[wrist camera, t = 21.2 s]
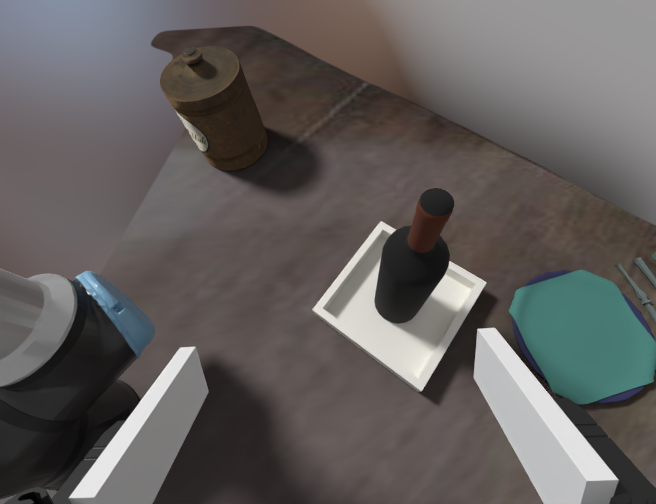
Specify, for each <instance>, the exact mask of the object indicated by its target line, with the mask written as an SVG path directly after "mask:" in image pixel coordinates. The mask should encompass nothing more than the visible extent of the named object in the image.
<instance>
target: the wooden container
mask: <svg viewBox="0 0 656 504" xmlns="http://www.w3.org/2000/svg"><path fill="white" fill-rule="evenodd" d="M160 85H161V88H162V90H163V92H164V94H165V95H166V97H167V99H168V100H169V102H170V103H171V105H172V106H173V107H174V109H175V111H176V112H177V114H178V116H179V117H180V119H181V120H182V122H183V124H184V125H185V127H186V128H187V130H188V132H189V133H190V135H191V136H192V138H193V140H194V141H195V143H196V144H197V146H198V147H199V149H200V150H201V151H202V153H203V154H204V156H205V157H206V159H207V160H208V162H209V163H210V164H211V165H213V166H214V167H216V168H218V169H221V170H228V171H233V170H239V169H243V168H245V167H248V166H250V165H251V164H253V163H254V162H256V161H257V160H258V159H259V158H260V157H261V156H262V155H263V153H264V152H265V150H266V147H267V142H268V138H267V134H266V131H265V128H264V126H263V123H262V120H261V117H260V114H259V112H258V109H257V107H256V104H255V102H254V99H253V97H252V94H251V92H250V89H249V87H248V84H247V82H246V79H245V76H244V73H243V70H242V67H241V65H240V63H239V61H238V59H237V57H236V55H235V54H234V53H232V52H231V51H229V50H227V49H225V48H221V47H201V48H194V47H187V48H186V49H185V50H184V52H183V53H182V54H181V55H179V56H178V57H176V58H175V59H173V60H172V61H171V62H170V63H169V64H168V65H167V66H166V67H165V69H164V71H163V72H162V75H161V78H160Z"/></svg>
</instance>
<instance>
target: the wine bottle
mask: <svg viewBox="0 0 656 504" xmlns="http://www.w3.org/2000/svg"><path fill="white" fill-rule="evenodd" d="M453 207H454V200H453V197H452V196H451V195H450V194H449V193H448V192H447V191H445V190H442V189H438V188H433V189H429V190H427V191H425V192H424V193H423V194H422V195H421V197H420V199H419V201H418V204H417V207H416V213H415V216H414V219H413V223H412V226H405V227H402V228H400V229H398V230H396V231H394V232H393V233H392V234H391V235H390V236H389V237H388V239H387V240H386V242H385V244H384V246H383V249H382V255H381V261H380V267H379V274H378V280H377V286H376V292H375V299H374V302H375V308H376V309H377V311H378V313H379V314H380V315H381V316H382V317H383V318H384V319H385V320H387V321H389V322H392V323H397V324H399V323H406V322H408V321H410V320H412V319H413V318H414V317H415V316H416V314H417V313H418V312H419V310H420V309H421V307H422V306H423V305H424V303H425V302H426V300H427V299H428V298H429V296H430V295H431V293H432V292H433V291H434V289H435V288H436V286H437V285H438V284H439V282H440V281H441V279H442V278H443V277H444V275H445V273H446V271H447V269H448V266H449V257H450V254H449V250H448V247H447V244H446V243H445V242H444V240H443V239H442V237H441V236H440V233H441V231H442V229H443V227H444V225H445V223H446V222H447V221H448V219H449V217H450V215H451V213H452V211H453Z"/></svg>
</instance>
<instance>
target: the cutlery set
mask: <svg viewBox="0 0 656 504" xmlns="http://www.w3.org/2000/svg"><path fill="white" fill-rule="evenodd" d="M651 256H652V257H653V258H654V259H655V260H656V253H653V254H651ZM633 261H634V262H635V263H636V264H637V265H638V266H639V268H640V269H641V270H642V271H643V272H644V274H645V275H646V276H647V277H648V279H649V280H650V281H651V282H652V284H653V285H654V286H655V288H656V278H655V277H654V276H653V274H652V273H651V271H650V270H649V269H648V267H647V266H646V264H645V263H644V261H643V260H642V259H641V257H640V258H637V259H635V260H633ZM615 266H617V267H618V268H619V269H620V270H621V272H622V273H623V274H624V275H625V276H626V278H627V279H628V281H629V282H630V284H631V285H632V286H633V288H634V289H635V291H636V295H637V297H638V298H639V299H641V301H642V304H643V305H645V306H646V308H647V310H648V311H649V313H650V315H651V317H652V318H653V320H654V321H655V322H656V311H655V310H654V309H653V307H652V306H651V305H650V302H652V301H650V300H648V299H647V294H645V293H644V292H643V291H641V290H640V289H639V288H638V287H637V285H636V284H635V283H634V281H633V280H632V279H631V278H630V277H629V276H628V274H627V273H626V271H625V270H624V269H623V267H622V266H621V263H620V264H617V265H615ZM514 295H515V296H514V298H513V301H512V303H511V307H510V309H509V312H510V313H511V315H512V316H513V331H514V334H515V337H516V339H517V342H518V345H519V348H520V350H521V352H522V353H523V355H524V356H525V357H526V359H527V360H528V362H529V363H530V365H531V366H532V367H533V369H534V370H535V371H536V372H537V373H538V374H540V375H541V376H542V377H543V378H544V379H545V380H546V381H548V383H549V385H550V388H551V390H552V392H553V393H556V394H558V395H560V396H562V397H564V398H569V399H570V400H571V401H573V402H574V403H576V404H588V403H592V402H597V403H610V402H618V401H625V400H627V399H628V398H630V397H632V396H633V395H635V394H637V393H639V392H640V391H642V390H643V389H644V387H645V386H646V384H649V383H652V382H654V376H655V375H656V374H655V370H656V342H655V340H654V339H653V336H652V332H651V330H650V329H649V327H648V325H647V323H646V321H645V319H644V318H643V316H642V314H641V312H640V311H639V310H638V309H637V308H636V307H635V306H634V305H633V304H632V302H631V301H630V300H629V299H628V298H627V297H626V296H625V295H624V294H623V293H621V292H620V290H619V289H618V287H617V286H616V285H615V284H614V283H612V282H611V281H609V280H607V279H605V278H602V277H600V276H597V275H595V274H592V273H590V272H587V271H585V270H578V271H574V272H573V271H566V270H562V271H555V272H548V273H544V274H542V275H540V276H538V277H536V278H534V279H532V280H530V281H529V282H528V283H527V284H526V285H525V287H522V288H520V289H518V290H516V292H515V294H514Z"/></svg>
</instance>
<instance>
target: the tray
mask: <svg viewBox="0 0 656 504" xmlns="http://www.w3.org/2000/svg"><path fill="white" fill-rule="evenodd" d="M394 231H396V230H395V229H394V228H392V227H390V226H388V225H387V224H385V223H383V222H380V223H379V224H378V225H377V227H376V228H375V229H374V231H373V232H372V233H371V235H370V236H369V237H368V238H367V240H366V241H365V242H364V244H363V245H362V246H361V247H360V249H359V250H358V251H357V253H356V254H355V255H354V256H353V258H352V259H351V260H350V262H349V263H348V264H347V266H346V267H345V268H344V269H343V271H342V272H341V273H340V275H339V276H338V277H337V278H336V280H335V281H334V282H333V284H332V285H331V286H330V288H329V289H328V290H327V291H326V293H325V294H324V295H323V297H322V298H321V299H320V300H319V302H318V303H317V304H316V306H315V307H314V308H313V309H312V310H313V312H314V314H315V315H316V316H317V317H319V318H320V319H321V320H323V321H324V322H325V323H327V324H328V325H329V326H331V327H332V328H333V329H335V330H336V331H337V332H339V333H340V334H341V335H343V336H344V337H345V338H347V339H348V340H349V341H351V342H352V343H353V344H355V345H356V346H357V347H359V348H360V349H361V350H363V351H364V352H365V353H367V354H368V355H369V356H371V357H372V358H373V359H375V360H376V361H377V362H379V363H380V364H381V365H383V366H384V367H385V368H387V369H388V370H389V371H391V372H392V373H393V374H395V375H396V376H397V377H399V378H400V379H401V380H403V381H404V382H405V383H407V384H408V385H409V386H411V387H412V388H413V389H415V390H416V391H417V392H422V390H423V388H424V387H425V385H426V383H427V382H428V380H429V378H430V377H431V375H432V373H433V372H434V370H435V368H436V367H437V365H438V363H439V362H440V360H441V358H442V356H443V355H444V353H445V351H446V350H447V348H448V346H449V345H450V343H451V341H452V340H453V338H454V336H455V335H456V333H457V331H458V330H459V328H460V326H461V325H462V323H463V321H464V320H465V318H466V316H467V315H468V313H469V311H470V310H471V308H472V306H473V305H474V303H475V301H476V299H477V298H478V296H479V294H480V293H481V291H482V289H483V288H484V286H485V284H486V283H487V282H485V281H483V280H481V279H480V278H478V277H476V276H475V275H473V274H471V273H469V272H468V271H466V270H464V269H462V268H461V267H459V266H457V265H456V264H454V263H452V262H450V261H449V266H448V269H447V271H446V273H445V275H444V277H443V278H442V279H441V281H440V282H439V284H438V285H437V286H436V288H435V289H434V291H433V292H432V293H431V295H430V296H429V298H428V299H427V300H426V302H425V303H424V305H423V306H422V307H421V309H420V310H419V312H418V313H417V314H416V316H415V317H414V318H413V319H412V320H410V321H408V322H406V323H399V324H397V323H392V322H389V321H387V320H385V319H384V318H383V317H382V316H381V315H380V314H379V313H378V311H377V309H376V308H375V302H374V299H375V292H376V286H377V280H378V274H379V267H380V261H381V255H382V249H383V246H384V244H385V242H386V240H387V239H388V237H389V236H390V235H391V234H392V233H393V232H394Z"/></svg>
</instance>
